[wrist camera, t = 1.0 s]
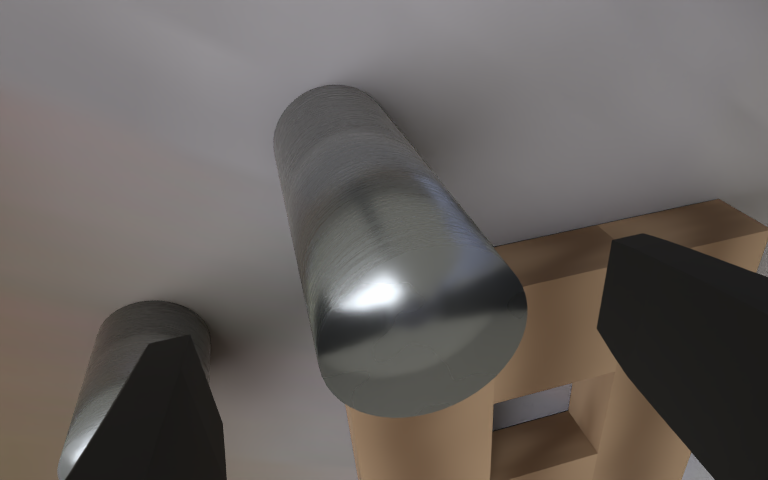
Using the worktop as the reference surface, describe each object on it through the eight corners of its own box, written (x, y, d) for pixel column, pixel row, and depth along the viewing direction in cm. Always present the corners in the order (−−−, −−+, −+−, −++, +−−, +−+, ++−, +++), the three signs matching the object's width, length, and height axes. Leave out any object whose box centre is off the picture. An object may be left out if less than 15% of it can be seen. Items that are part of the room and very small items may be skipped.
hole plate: (718, 198, 21) (771, 229, 19) (645, 451, 30) (677, 491, 28) (324, 283, 19) (337, 329, 17) (367, 534, 27) (379, 584, 25)
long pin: (386, 76, 16) (534, 226, 8) (395, 187, 18) (521, 389, 10) (262, 95, 15) (300, 275, 8) (285, 207, 17) (333, 438, 10)
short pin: (195, 290, 18) (186, 406, 14) (221, 368, 20) (220, 490, 16) (79, 314, 17) (32, 443, 13) (118, 392, 19) (88, 526, 15)
